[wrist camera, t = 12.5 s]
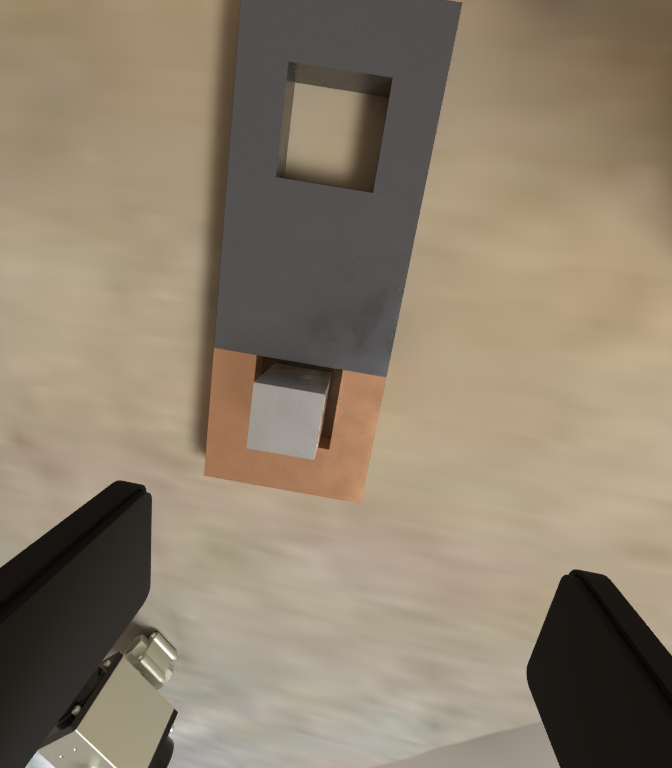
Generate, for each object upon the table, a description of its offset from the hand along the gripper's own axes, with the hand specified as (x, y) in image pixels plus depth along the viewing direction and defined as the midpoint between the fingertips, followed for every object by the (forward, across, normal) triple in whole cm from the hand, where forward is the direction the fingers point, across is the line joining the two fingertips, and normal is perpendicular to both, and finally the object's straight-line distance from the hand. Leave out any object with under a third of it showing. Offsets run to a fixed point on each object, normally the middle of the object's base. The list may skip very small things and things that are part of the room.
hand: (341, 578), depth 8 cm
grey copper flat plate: (+24, +5, -6) cm, 25 cm away
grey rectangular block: (+24, +5, +4) cm, 25 cm away
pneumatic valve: (+23, +18, +36) cm, 46 cm away
